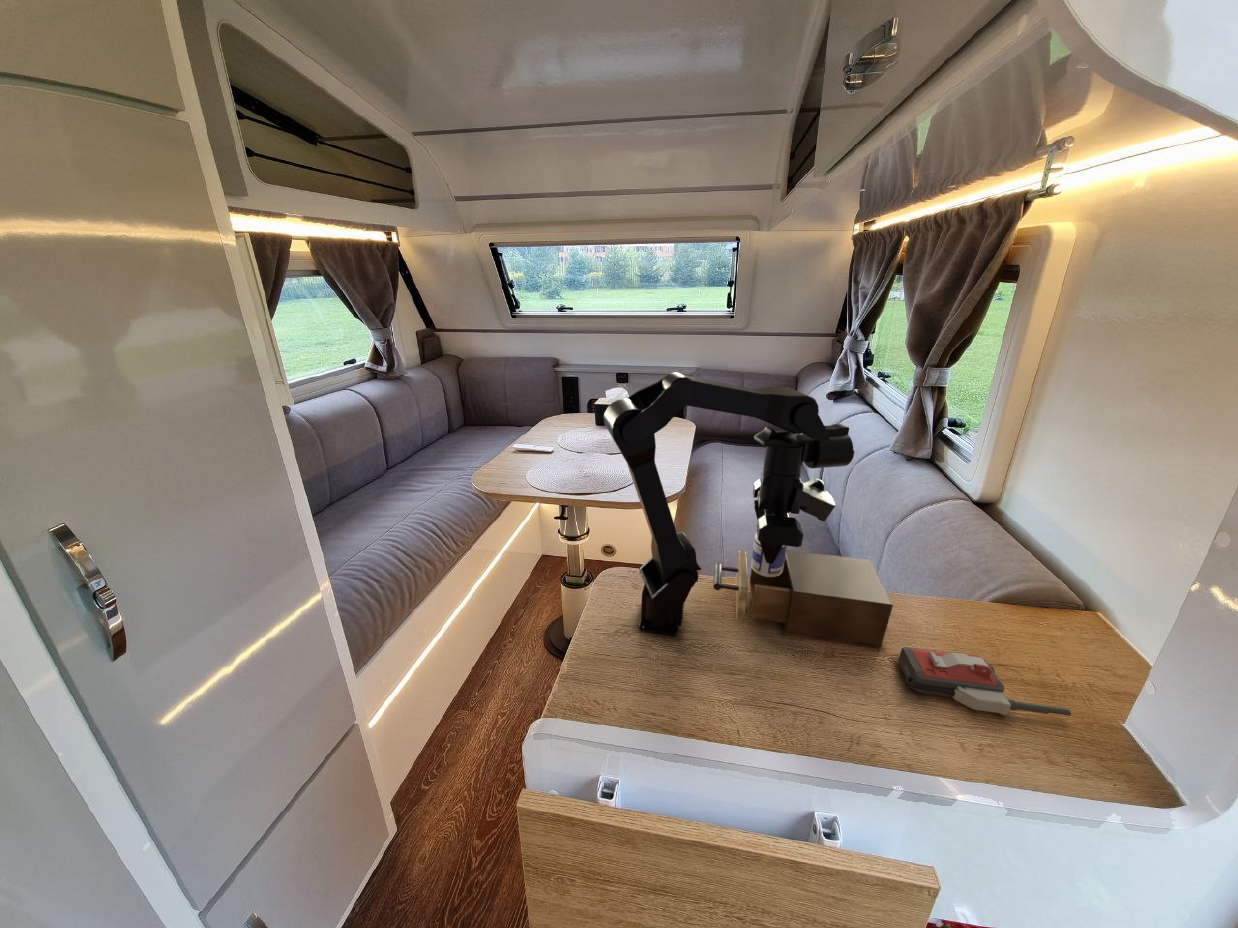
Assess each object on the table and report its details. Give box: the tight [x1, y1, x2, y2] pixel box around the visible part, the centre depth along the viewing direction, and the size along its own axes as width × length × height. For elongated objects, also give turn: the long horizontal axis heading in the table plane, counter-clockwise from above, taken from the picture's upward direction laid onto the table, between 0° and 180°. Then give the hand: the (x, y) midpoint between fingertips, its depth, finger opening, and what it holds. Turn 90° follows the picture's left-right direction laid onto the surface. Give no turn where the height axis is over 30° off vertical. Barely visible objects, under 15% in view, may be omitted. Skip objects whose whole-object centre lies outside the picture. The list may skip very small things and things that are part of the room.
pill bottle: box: [750, 532, 788, 577], centre depth 80 cm, size 5×5×9 cm
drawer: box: [712, 549, 792, 624], centre depth 83 cm, size 18×11×7 cm, turn 78°
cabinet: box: [783, 549, 894, 650], centre depth 81 cm, size 15×13×9 cm
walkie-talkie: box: [897, 646, 1072, 716], centre depth 67 cm, size 9×4×20 cm
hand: (768, 553), depth 80 cm, fingers closed on pill bottle, 5 cm apart
